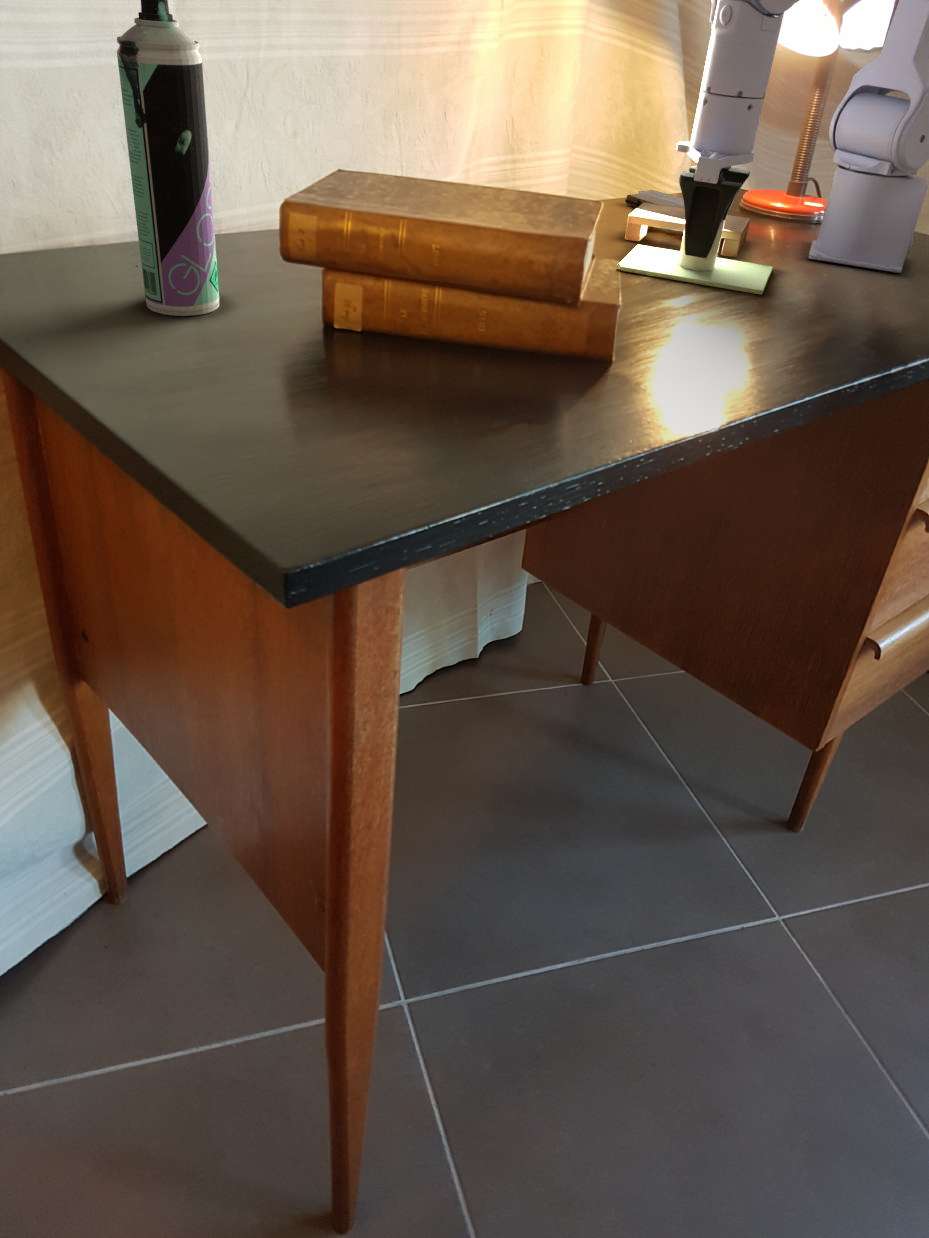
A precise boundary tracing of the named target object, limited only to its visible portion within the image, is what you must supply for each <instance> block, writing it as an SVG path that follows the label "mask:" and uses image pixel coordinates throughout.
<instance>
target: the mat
mask: <svg viewBox="0 0 929 1238" xmlns="http://www.w3.org/2000/svg"><path fill="white" fill-rule="evenodd" d="M679 254H680V250H674V249H668V248H662V247H655V246H650V245H643V244H637V245H635V247H634V248H632V250H631V251H630V252H628V253H627V254H626V256H625V257H623V259H621V261H619V262H618V264H619V265H620V270H621V271H620V270H619V271H620V272H625V273H626V272H627V273H632V274H633V273H634V274H638V275H645V276H648V277H649V276H650V277H656V278H661V279H668V280H673V281H679V282H685V283H690V284H695V285H696V284H697V285H702V286H706V287H707V286H709V287H714V288H720V289H725V290H732V291H737V292H742V293H749V294H755V295H760V296H762V295H763V293H764V291H765V288H766V286H767V284H768V281H769V279H770V277H771V274H772V272H773V268H774V266H773V265H772V266H771V265H765V264H759V263H754V262H747V261H741V260H736V259H728V258H723V257H717V259H716V263H715V268H714V269H713V270H711V271H696V270H690V269H686V268H683V267H681V266H679V265H678V259H679Z"/></svg>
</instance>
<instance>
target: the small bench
mask: <svg viewBox="0 0 929 1238" xmlns="http://www.w3.org/2000/svg"><path fill="white" fill-rule="evenodd" d="M750 223H751V218H749V217H743V216H737V215H730V214H729V215H728V214H727V216H726V219H725V222H724V227H723V231H722V236H721V239H724V240H723V244H722V248H721V253H720V255H721V256H724V257H730V258H737V257H738V255H739V253H740V252H741V250H742V249H743V247H744V244H745V243H746V240H747V236H748V231H749V227H750ZM653 228H657V229H658V228H659V229H665V230H671V231H677V232H683V233H684V229H685V208H678V207H672V206H665V205H659V204H652V203H646V202H644V203H642V204H641V205H640V206H639V207H638V208H636V207H635V209H634V210H633V211H632V212H630V213H629V214H628V216H627V223H626V228H625V235H624V240H627V241H631V242H632V241H633V242H640V241H641V240H642V239H643V238H644V237H645V236H647V234H648V233H650V232H651V230H652V229H653Z"/></svg>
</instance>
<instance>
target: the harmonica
mask: <svg viewBox="0 0 929 1238" xmlns="http://www.w3.org/2000/svg"><path fill="white" fill-rule="evenodd" d="M624 202H625V204H627V205H628V206H632V207H634V208H635V209H636V208H638V207H639V206H640V205H641V204H642V203H644V202H646V203H652V204H659V205H665V206H672V207H678V208H684V200H683V197H679V196H675V195H673V194H669V193H665V192H662V191H658V190H652V189H650V190H639V191H638V192H637V193H633V194H627V195H626V199H625V200H624Z"/></svg>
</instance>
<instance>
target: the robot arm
mask: <svg viewBox="0 0 929 1238" xmlns="http://www.w3.org/2000/svg"><path fill="white" fill-rule="evenodd" d="M710 1H711V9H710V15H709V16H710V17H709V23H711V24H710V28H711V35H710V38H709V43H708V50H707V54H706V60H705V65H704V70H703V76H702V80H701V84H700V85H701V86H700V91H699V97H698V98H699V99H698V102H697V107H696V111H695V117H694V123H693V128H692V133H691V138H690V141H679V142H677V143H676V148H675V151H677V152H679V153H684V154H686V155H687V156H688V157H690V158H691V159H692V160H693V161H694V162H695V163H696V165H692V166H690V167H689V169H688V171H683V170H682V172H680V173H679V177H678V184H679V187H680V191H681V195H682V199H683V200H684V208H685V255H688V256H694V257H700V258H706V257H707V256H708V254H709V252H710V250H711V248H712V246H713V243H714V240H715V238H716V235H717V232H718V229H719V226H720V224H721V221H722V220H724V222H725V219H726V216H727V215H728V214H729V211H730V209H731V207H732V204H733V202H734V200H735V199H736V197H737V195H738V193H739V191H740V190H741V188H742V187H743V186H744V184H745V182H746V181H747V180H748V178H749V177H750V176H751V175H750V174H751V170H748V169H745V168H740V167H739V168H738V167H734V166H740V165H746V164H750V163H752V162H753V161H754V157H755V151H754V147H755V143H756V138H757V135H758V134H757V132H758V129H759V125H760V120H761V116H762V113H763V112H762V111H763V107H764V103H765V98H766V94H767V89H768V85H769V81H770V80H769V79H770V76H771V72H772V68H773V63H774V58H775V54H776V49H777V45H778V41H779V38H780V37H779V36H780V32H781V28H782V24H783V20H784V15H785V12H786V11H788V10H789V9H791V8H792V7H793V6H794V5H795V4H797V3H798V2H800V0H710ZM896 5H897V6H896V8H895V11H894V14H893V17H892V19H891V23H890V24H889V25H890V26H889V28H888V31H887V34H886V37H885V40H884V43H883V45H882V48H881V51H880V54H879V55H878V56H877V57H876V58H874V59H873V60H872V61H870V62H869V63H868V64H866V65H865V66H864V67H862V68H860V69H859V70H858V71H857V72H855V73H854V75H853V76H852V79H851V81H850V85H849V87H848V90H847V92H846V93H845V95H844V97H843V99H842V100H841V101H840V102H839V104H838V106H837V107H836V109H835V110H834V112H833V116H832V118H831V121H830V124H829V128H828V129H829V130H828V141H829V146H830V148H831V150H832V152H833V153H834V154H833V158H832V162H833V163H836V164H837V165H836V168H835V172H834V175H833V179H832V183H831V186H830V190H829V194H828V196H827V201H826V205H825V208H824V211H823V215H822V218H821V223H820V226H819V230H818V234H817V237H816V239H813V240H812V241H811V245H810V249H809V252H808V255H807V258H808V259H810V260H815V261H821V262H826V263H827V262H829V263H832V264H833V263H835V264H841V265H846V266H852V267H857V268H859V267H860V268H864V269H871V270H878V271H884V272H890V273H895V274H896V273H897V274H901V273H902V271H903V266H904V263H905V260H906V257H907V255H908V254H909V253H910V251H911V248H912V245H913V241H914V238H915V237H914V233H915V231H916V227H917V224H918V221H919V218H920V216H921V215H920V214H921V211H922V208H923V205H924V202H925V198H926V195H927V191H928V187H929V178H928V177H925V176H920V175H918V171H919V170H920V169H921V168H923V167H924V166H925V165H926V164H928V162H929V0H898V3H897V4H896ZM891 92H893V93H894V92H898V93H903V94H906V95H908V98H909V99H908V98H903V97H896V96H892V95H887V94H889V93H891Z"/></svg>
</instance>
